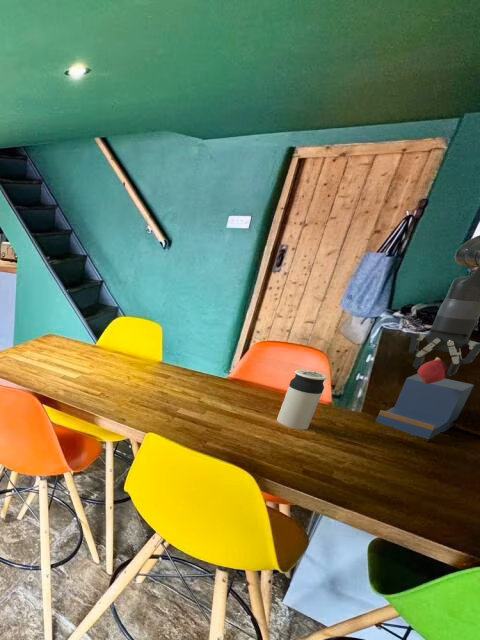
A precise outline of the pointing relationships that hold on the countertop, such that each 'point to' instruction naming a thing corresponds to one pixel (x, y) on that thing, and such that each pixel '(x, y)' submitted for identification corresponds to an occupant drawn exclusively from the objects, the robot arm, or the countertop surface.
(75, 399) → the countertop surface
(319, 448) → the countertop surface
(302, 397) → the travel mug
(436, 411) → the stand
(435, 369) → the onion
